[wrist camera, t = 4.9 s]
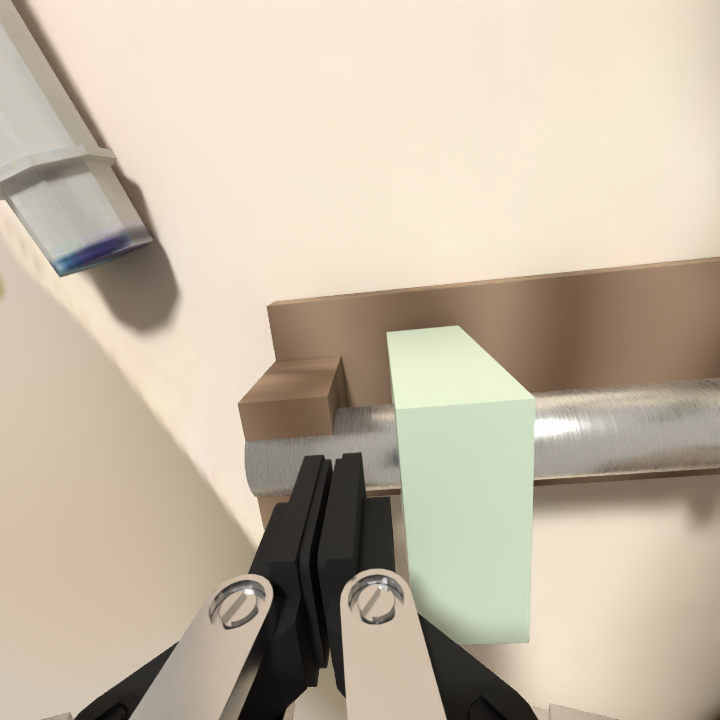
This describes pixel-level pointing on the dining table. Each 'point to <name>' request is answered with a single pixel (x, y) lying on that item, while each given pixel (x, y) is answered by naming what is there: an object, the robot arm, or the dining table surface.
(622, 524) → the dining table surface
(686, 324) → the walnut base
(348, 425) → the steel pipe
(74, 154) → the grey handheld flashlight
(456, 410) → the sage collar
